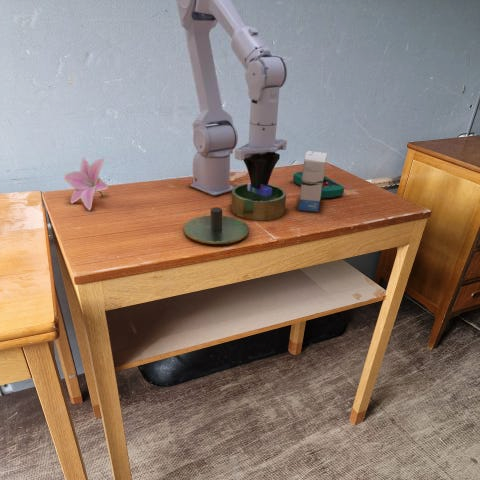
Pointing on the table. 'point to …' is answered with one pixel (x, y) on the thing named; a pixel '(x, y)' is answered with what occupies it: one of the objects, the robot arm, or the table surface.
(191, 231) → the pan lid
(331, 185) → the digital multimeter
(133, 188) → the table surface
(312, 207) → the ink box
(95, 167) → the lily
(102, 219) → the table surface
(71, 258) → the table surface
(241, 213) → the pan
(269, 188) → the eraser
